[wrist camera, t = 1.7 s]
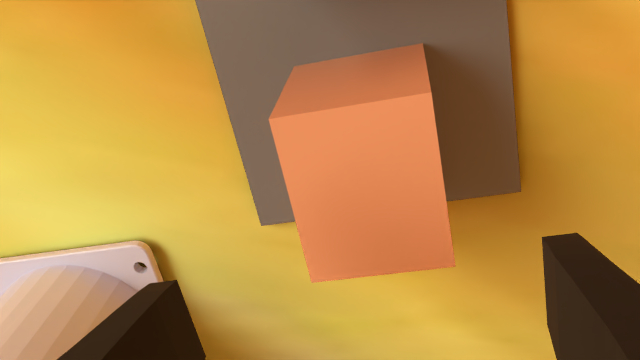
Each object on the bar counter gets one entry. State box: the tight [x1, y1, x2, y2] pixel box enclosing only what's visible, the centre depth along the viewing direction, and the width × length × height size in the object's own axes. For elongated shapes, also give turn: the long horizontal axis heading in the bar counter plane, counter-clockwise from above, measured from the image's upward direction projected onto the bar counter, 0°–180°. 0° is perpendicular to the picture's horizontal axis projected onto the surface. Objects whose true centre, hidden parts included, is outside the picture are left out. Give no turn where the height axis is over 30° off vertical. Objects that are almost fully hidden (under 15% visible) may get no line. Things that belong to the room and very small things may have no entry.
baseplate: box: [195, 0, 521, 226], centre depth 18 cm, size 14×9×1 cm, turn 12°
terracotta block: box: [269, 43, 455, 283], centre depth 18 cm, size 5×4×4 cm
